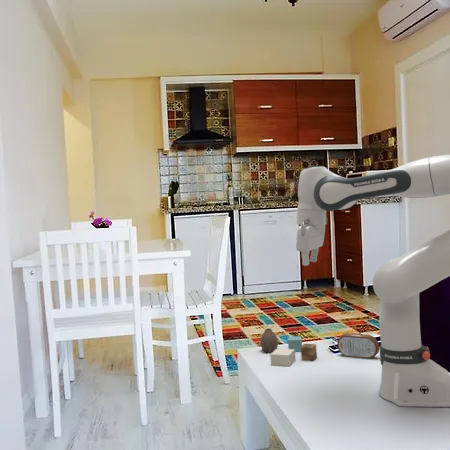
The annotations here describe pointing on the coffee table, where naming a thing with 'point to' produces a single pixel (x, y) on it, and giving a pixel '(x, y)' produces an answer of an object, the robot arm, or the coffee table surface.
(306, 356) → the walnut block
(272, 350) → the vase
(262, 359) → the coffee table surface
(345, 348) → the tin
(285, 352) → the limestone block
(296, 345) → the teal cube
